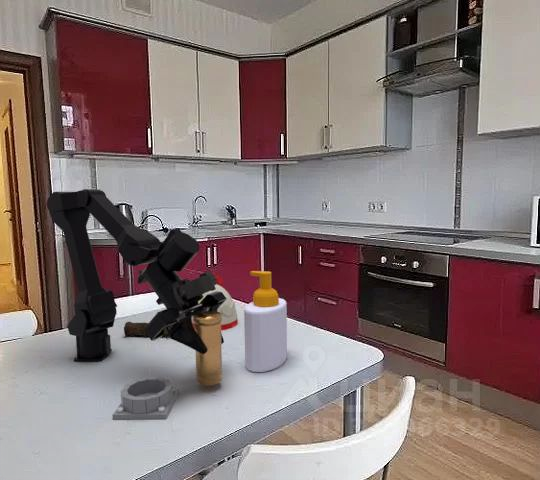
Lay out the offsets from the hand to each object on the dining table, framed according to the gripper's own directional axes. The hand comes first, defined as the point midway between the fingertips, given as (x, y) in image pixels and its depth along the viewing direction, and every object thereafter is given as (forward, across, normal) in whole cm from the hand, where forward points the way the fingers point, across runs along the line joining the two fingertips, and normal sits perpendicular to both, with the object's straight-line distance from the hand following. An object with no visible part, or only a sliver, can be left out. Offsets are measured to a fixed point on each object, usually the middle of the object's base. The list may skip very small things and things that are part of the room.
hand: (214, 348), depth 77 cm
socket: (+1, -11, +11) cm, 15 cm away
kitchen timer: (-11, +33, +23) cm, 42 cm away
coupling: (+4, 0, +6) cm, 7 cm away
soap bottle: (+8, +16, +4) cm, 18 cm away
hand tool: (-16, +18, +28) cm, 37 cm away
